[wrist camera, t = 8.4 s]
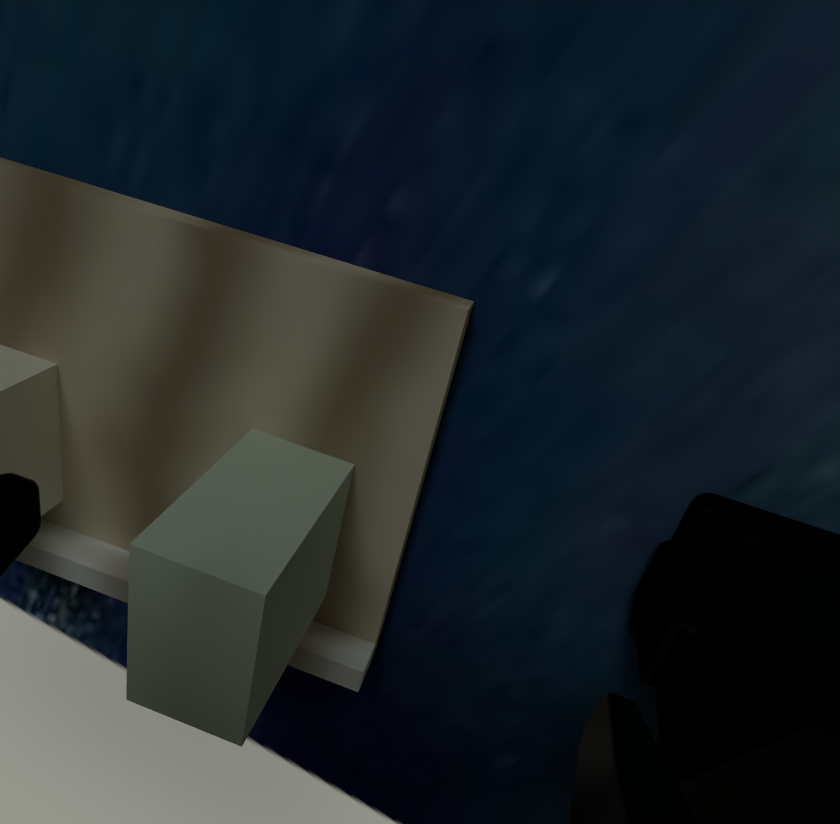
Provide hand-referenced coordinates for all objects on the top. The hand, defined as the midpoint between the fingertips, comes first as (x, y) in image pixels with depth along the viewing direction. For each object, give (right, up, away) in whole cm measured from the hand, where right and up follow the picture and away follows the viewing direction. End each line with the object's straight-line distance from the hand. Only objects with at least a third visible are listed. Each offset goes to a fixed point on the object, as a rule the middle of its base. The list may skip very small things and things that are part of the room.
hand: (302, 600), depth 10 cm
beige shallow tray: (-7, +2, +16) cm, 18 cm away
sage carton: (-3, -1, +15) cm, 16 cm away
